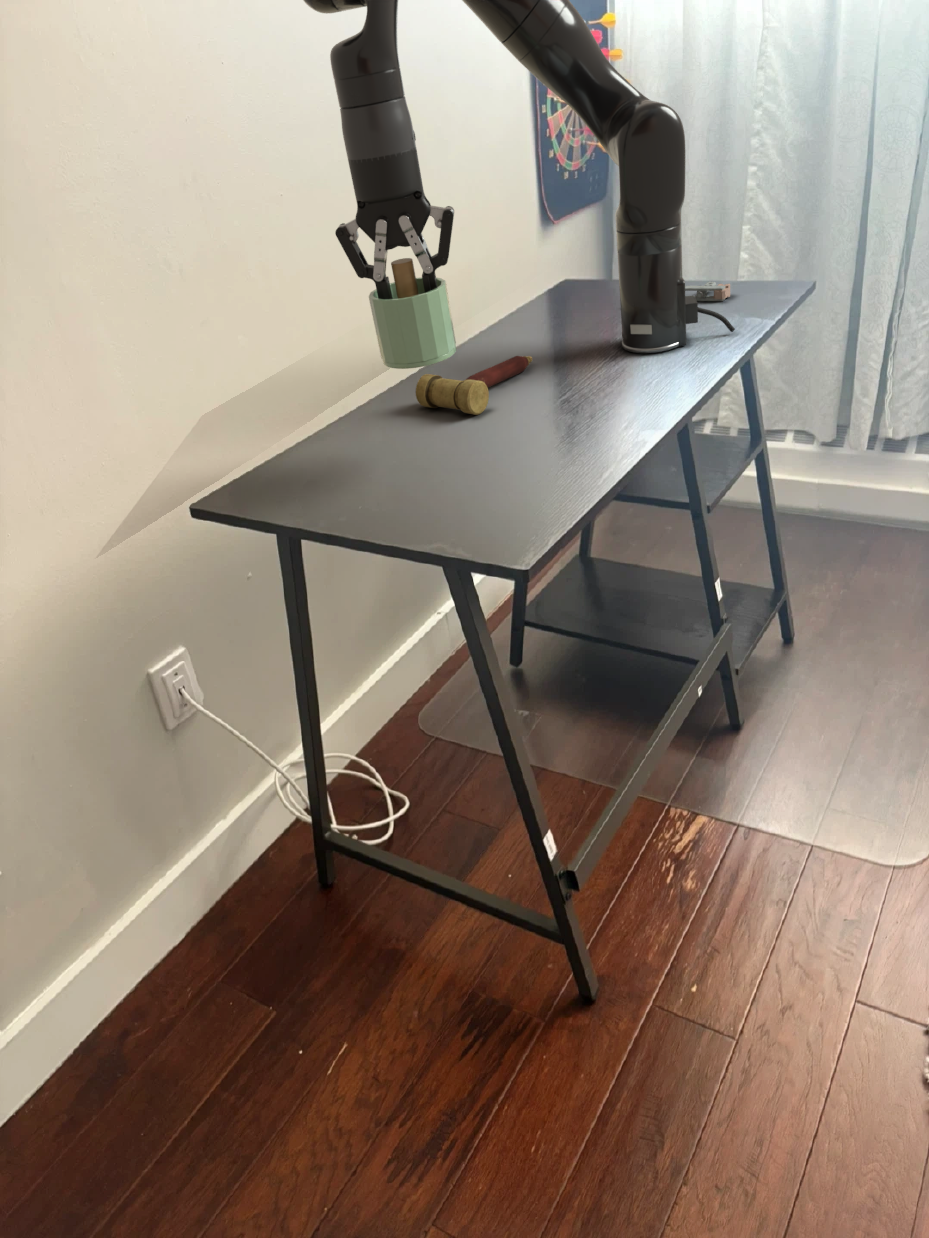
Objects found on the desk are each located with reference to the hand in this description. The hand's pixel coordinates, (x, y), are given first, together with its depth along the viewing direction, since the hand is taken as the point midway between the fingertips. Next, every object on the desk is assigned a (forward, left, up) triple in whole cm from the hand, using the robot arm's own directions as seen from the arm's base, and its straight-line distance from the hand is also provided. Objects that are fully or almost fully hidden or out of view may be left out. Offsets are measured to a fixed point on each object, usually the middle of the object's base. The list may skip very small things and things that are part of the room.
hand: (411, 307), depth 113 cm
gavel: (-6, -23, -19) cm, 30 cm away
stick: (0, 0, -5) cm, 5 cm away
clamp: (-39, -55, -19) cm, 70 cm away
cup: (0, 0, -6) cm, 6 cm away
